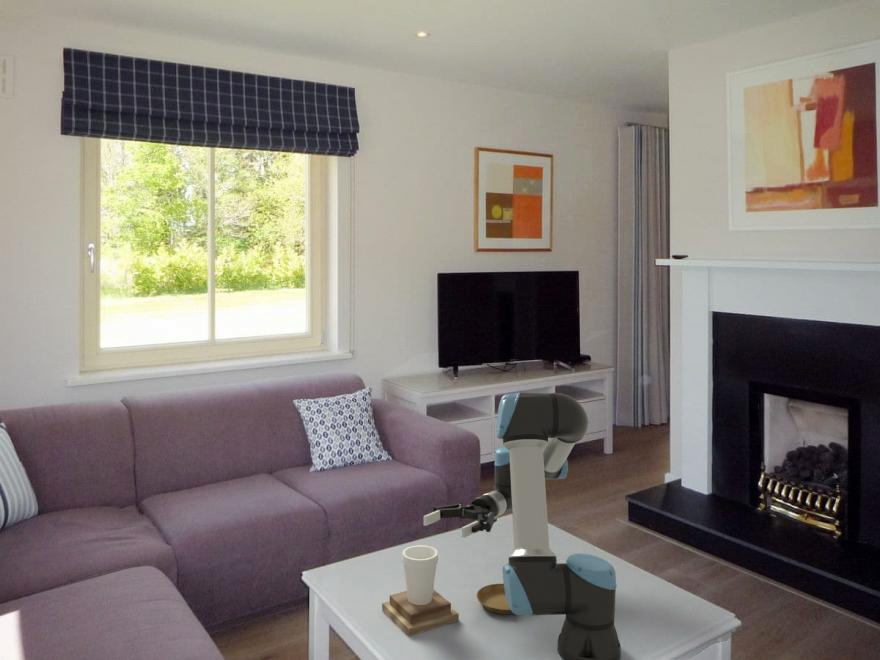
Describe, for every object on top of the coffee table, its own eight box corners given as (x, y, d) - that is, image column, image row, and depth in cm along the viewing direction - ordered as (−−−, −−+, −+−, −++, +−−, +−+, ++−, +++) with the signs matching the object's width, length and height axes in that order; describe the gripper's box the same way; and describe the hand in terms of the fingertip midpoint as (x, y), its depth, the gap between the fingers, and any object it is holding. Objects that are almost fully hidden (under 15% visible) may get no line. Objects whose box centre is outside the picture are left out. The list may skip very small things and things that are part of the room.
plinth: (458, 620, 191) (458, 604, 191) (408, 636, 184) (408, 619, 183) (430, 596, 204) (430, 581, 204) (382, 610, 196) (382, 594, 196)
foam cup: (397, 604, 190) (397, 557, 189) (409, 588, 199) (409, 543, 198) (431, 610, 188) (432, 562, 186) (442, 594, 196) (442, 548, 195)
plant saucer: (532, 618, 193) (533, 609, 193) (477, 618, 193) (477, 608, 193) (527, 592, 208) (527, 583, 207) (475, 591, 208) (475, 583, 208)
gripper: (523, 529, 208) (479, 551, 192) (455, 510, 224) (409, 529, 208) (523, 503, 208) (480, 523, 191) (455, 486, 223) (409, 503, 207)
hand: (443, 526), depth 200 cm, fingers open, 13 cm apart
